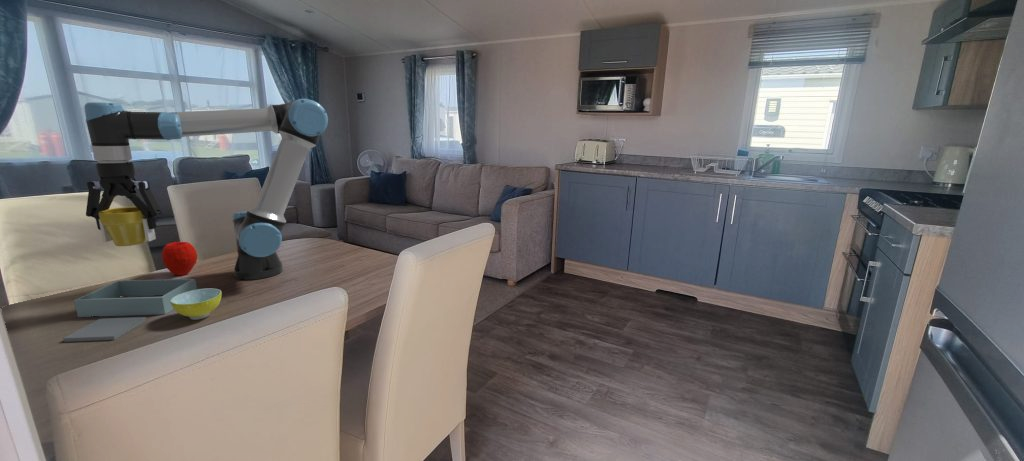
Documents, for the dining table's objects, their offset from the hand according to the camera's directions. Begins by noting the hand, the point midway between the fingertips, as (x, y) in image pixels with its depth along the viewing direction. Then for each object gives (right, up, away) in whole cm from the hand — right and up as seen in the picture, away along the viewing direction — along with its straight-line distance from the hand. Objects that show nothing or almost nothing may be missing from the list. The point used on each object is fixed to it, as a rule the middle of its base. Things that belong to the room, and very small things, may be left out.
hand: (130, 240), depth 119 cm
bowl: (+22, -21, -2) cm, 30 cm away
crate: (-1, -19, +4) cm, 20 cm away
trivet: (+5, -23, -12) cm, 26 cm away
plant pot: (0, -1, 0) cm, 1 cm away
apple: (-9, -13, +31) cm, 35 cm away
